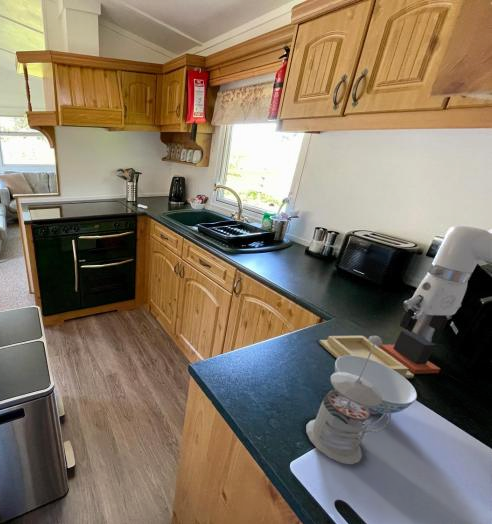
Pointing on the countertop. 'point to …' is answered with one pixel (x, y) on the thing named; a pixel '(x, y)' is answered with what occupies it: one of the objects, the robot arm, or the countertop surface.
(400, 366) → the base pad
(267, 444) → the countertop surface
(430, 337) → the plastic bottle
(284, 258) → the countertop surface
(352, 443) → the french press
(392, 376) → the chinaware
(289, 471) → the countertop surface
